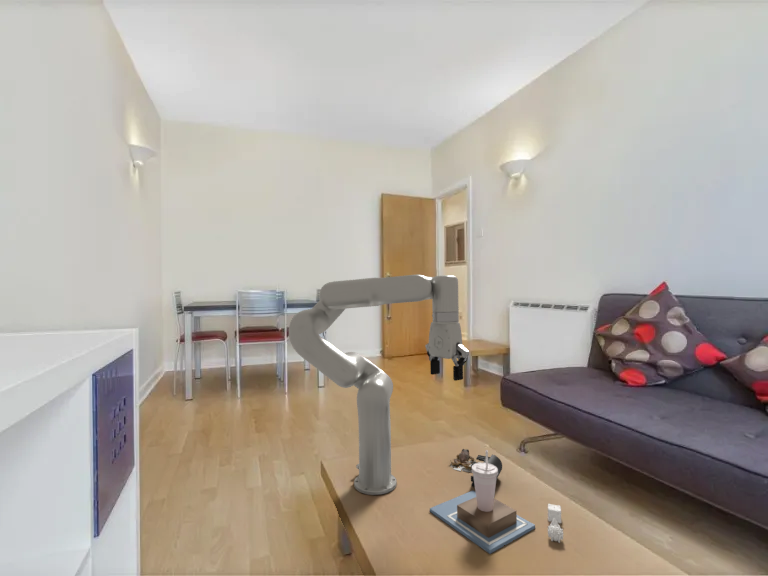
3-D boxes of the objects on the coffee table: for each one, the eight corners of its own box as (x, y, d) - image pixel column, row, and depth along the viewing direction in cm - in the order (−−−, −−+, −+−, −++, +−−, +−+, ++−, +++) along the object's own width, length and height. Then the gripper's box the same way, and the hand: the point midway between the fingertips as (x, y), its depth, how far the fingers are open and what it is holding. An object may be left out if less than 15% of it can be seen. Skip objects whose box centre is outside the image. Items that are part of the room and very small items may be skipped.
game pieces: (547, 515, 99) (547, 503, 99) (561, 518, 98) (561, 505, 98) (547, 543, 88) (547, 528, 88) (563, 546, 87) (563, 532, 87)
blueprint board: (429, 511, 101) (429, 507, 101) (473, 493, 110) (473, 489, 110) (489, 553, 85) (489, 549, 85) (535, 528, 94) (535, 524, 94)
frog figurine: (448, 456, 136) (448, 445, 136) (483, 460, 132) (483, 449, 133) (442, 470, 126) (442, 458, 126) (480, 475, 122) (480, 463, 122)
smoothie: (499, 516, 92) (498, 456, 92) (472, 513, 94) (471, 454, 94) (497, 501, 98) (496, 446, 99) (471, 499, 100) (470, 444, 100)
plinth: (457, 517, 97) (457, 505, 97) (484, 504, 103) (484, 493, 103) (488, 538, 89) (488, 524, 89) (516, 523, 94) (516, 510, 94)
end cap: (495, 493, 110) (494, 469, 110) (470, 487, 114) (470, 464, 114) (502, 478, 119) (502, 455, 119) (479, 473, 122) (479, 451, 122)
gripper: (416, 317, 119) (417, 373, 118) (457, 320, 104) (458, 384, 104) (435, 316, 123) (436, 370, 123) (476, 318, 108) (477, 380, 108)
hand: (446, 376), depth 113 cm, fingers open, 9 cm apart
